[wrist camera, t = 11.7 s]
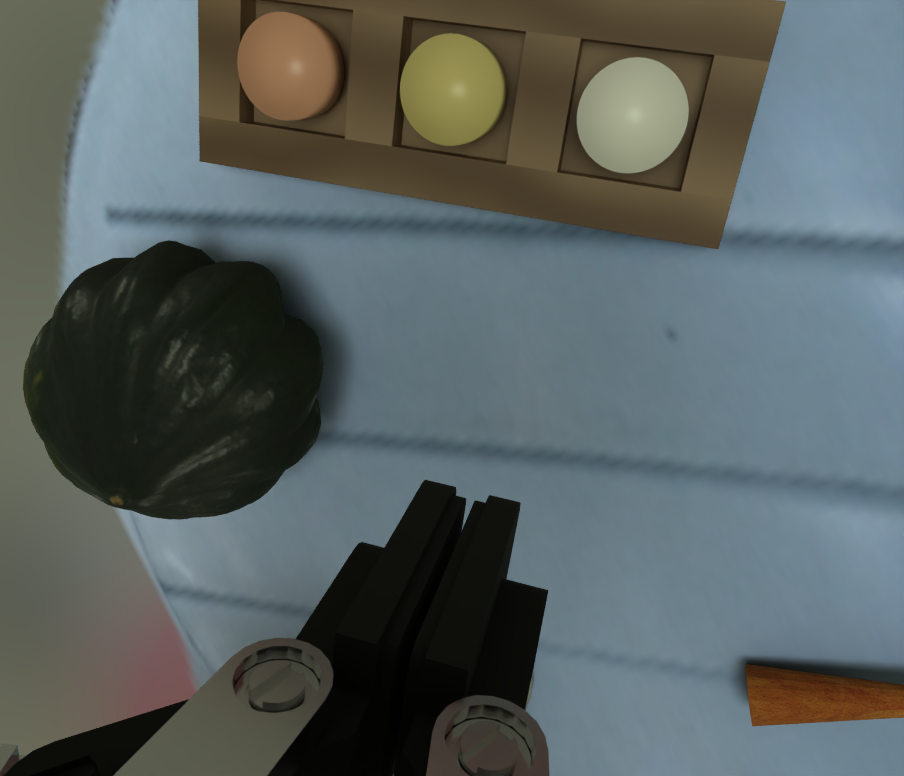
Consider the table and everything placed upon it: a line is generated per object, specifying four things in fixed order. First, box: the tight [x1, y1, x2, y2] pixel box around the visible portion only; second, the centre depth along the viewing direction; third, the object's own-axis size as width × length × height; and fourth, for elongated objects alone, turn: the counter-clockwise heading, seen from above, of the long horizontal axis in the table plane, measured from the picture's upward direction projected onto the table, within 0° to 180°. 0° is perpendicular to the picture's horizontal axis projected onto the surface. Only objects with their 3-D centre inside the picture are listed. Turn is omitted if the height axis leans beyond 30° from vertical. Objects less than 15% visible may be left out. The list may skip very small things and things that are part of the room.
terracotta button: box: [237, 12, 344, 121], centre depth 34 cm, size 5×5×2 cm
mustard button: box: [400, 33, 508, 146], centre depth 33 cm, size 5×5×2 cm
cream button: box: [577, 57, 689, 173], centre depth 31 cm, size 5×5×2 cm
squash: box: [23, 241, 323, 519], centre depth 38 cm, size 14×15×15 cm
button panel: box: [198, 0, 786, 249], centre depth 34 cm, size 10×26×2 cm, turn 82°
